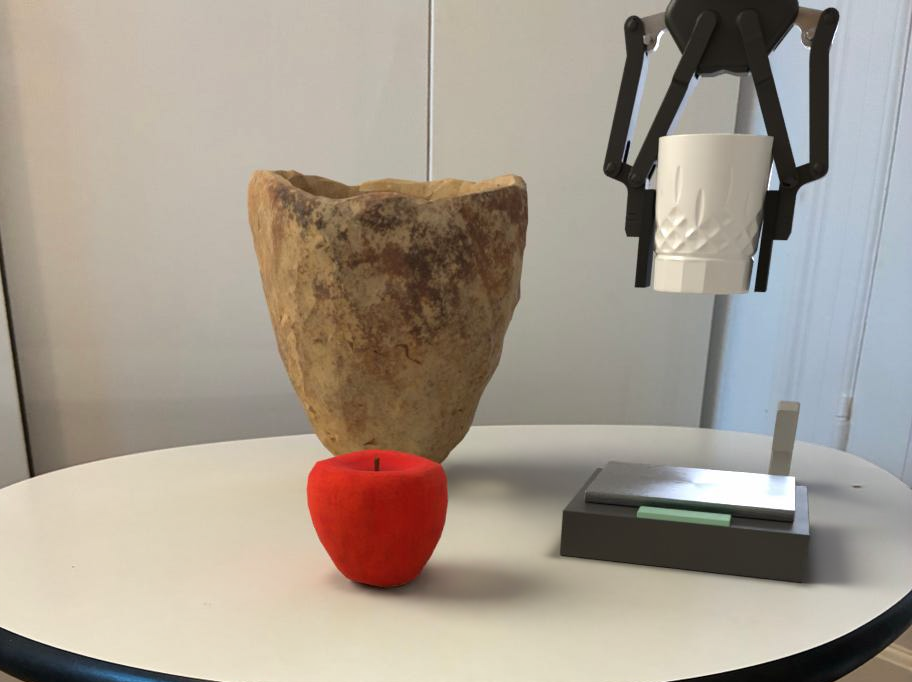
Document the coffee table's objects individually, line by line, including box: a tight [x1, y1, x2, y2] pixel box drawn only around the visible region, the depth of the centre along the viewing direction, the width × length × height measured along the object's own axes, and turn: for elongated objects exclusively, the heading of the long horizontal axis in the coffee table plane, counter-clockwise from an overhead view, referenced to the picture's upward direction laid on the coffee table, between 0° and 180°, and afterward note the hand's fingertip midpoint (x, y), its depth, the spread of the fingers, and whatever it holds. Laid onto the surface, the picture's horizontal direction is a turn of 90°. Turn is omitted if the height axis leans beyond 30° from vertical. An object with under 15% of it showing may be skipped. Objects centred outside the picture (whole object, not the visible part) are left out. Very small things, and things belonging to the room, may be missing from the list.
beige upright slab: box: [767, 400, 801, 477], centre depth 88 cm, size 7×2×8 cm, turn 161°
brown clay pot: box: [247, 169, 529, 465], centre depth 86 cm, size 22×22×25 cm
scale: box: [559, 467, 811, 583], centre depth 74 cm, size 16×14×4 cm
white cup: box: [652, 133, 774, 296], centre depth 72 cm, size 8×8×10 cm
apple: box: [306, 449, 449, 588], centre depth 64 cm, size 9×9×8 cm
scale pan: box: [584, 460, 796, 522], centre depth 74 cm, size 14×10×1 cm
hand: (700, 288), depth 74 cm, fingers closed on white cup, 8 cm apart
